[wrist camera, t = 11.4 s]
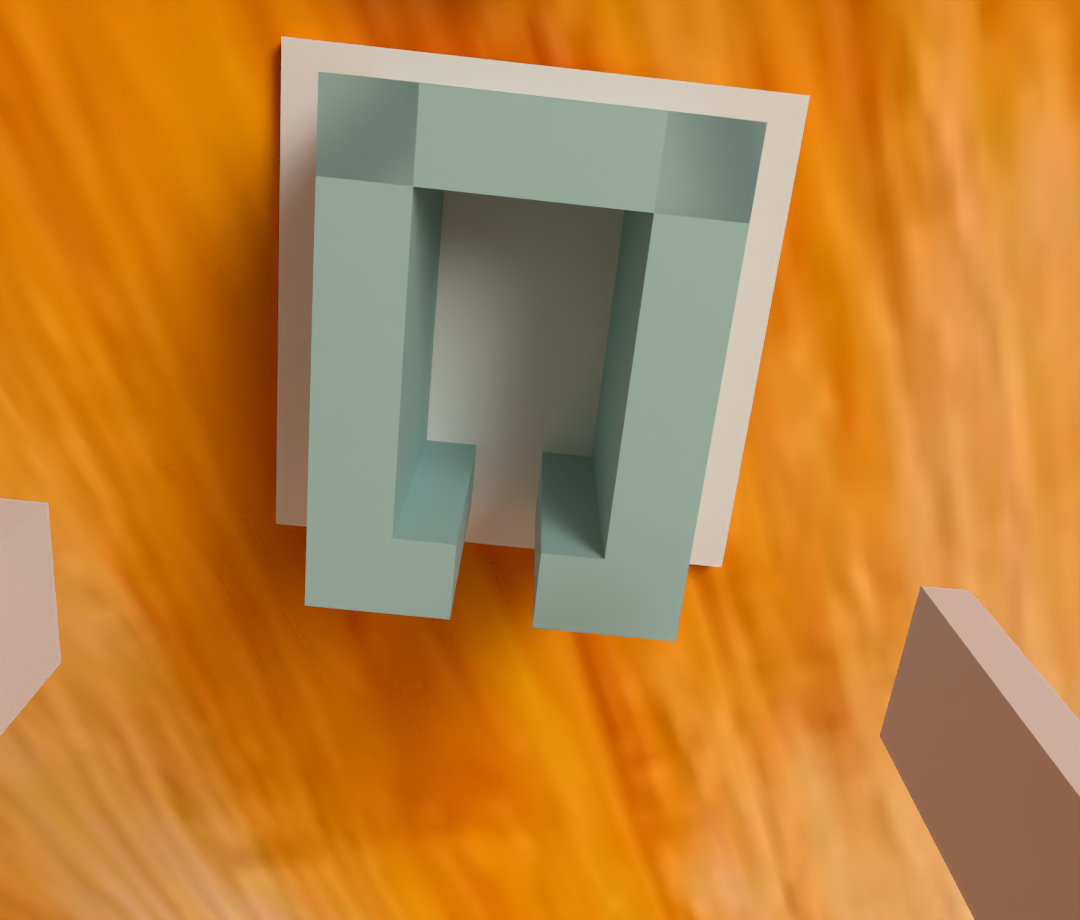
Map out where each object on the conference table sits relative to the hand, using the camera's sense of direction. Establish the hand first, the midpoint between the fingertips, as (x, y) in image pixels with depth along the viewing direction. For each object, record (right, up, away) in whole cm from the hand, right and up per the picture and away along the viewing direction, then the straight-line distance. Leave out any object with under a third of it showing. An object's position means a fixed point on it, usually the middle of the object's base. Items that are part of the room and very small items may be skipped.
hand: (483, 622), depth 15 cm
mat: (0, +7, +14) cm, 15 cm away
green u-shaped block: (0, +7, +13) cm, 15 cm away
